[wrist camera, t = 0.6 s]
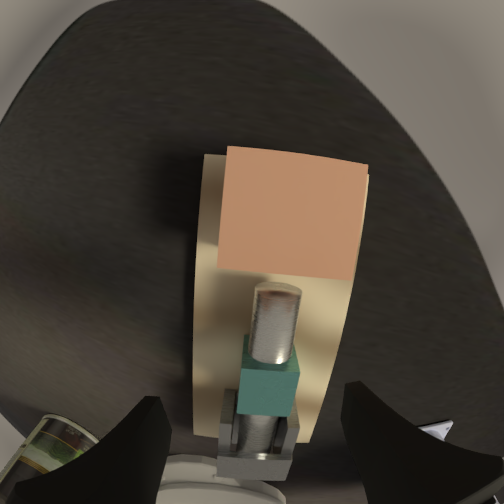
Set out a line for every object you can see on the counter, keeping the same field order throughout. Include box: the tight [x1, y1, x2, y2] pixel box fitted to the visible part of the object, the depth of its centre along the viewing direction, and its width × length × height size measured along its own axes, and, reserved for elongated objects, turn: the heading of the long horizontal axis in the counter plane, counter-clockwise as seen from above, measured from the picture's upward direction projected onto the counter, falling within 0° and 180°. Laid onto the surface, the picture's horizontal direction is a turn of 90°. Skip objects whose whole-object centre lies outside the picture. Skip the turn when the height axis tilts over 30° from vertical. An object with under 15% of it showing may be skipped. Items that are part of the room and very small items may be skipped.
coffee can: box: [0, 414, 99, 504], centre depth 17 cm, size 10×10×14 cm
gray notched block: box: [216, 389, 300, 481], centre depth 19 cm, size 6×5×4 cm
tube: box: [236, 282, 303, 454], centre depth 18 cm, size 15×3×4 cm, turn 174°
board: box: [193, 154, 369, 443], centre depth 19 cm, size 22×10×1 cm, turn 174°
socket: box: [217, 146, 368, 281], centre depth 15 cm, size 6×6×4 cm
